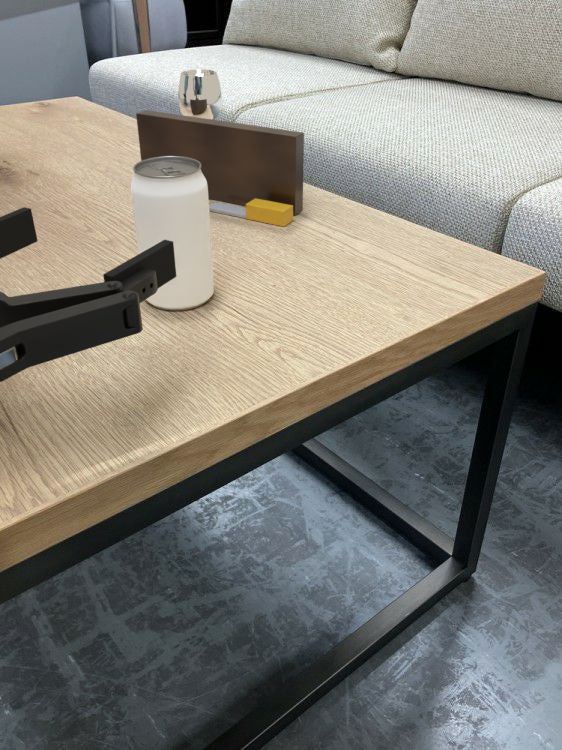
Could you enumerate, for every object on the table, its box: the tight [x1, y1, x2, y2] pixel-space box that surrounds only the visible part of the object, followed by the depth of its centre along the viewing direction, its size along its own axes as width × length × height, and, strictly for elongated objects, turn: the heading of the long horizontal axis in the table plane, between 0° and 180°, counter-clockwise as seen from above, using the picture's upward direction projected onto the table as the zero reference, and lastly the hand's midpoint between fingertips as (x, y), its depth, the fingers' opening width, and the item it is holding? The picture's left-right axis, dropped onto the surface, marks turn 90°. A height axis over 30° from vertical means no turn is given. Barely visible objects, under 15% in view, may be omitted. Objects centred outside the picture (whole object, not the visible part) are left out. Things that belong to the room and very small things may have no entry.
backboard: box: [135, 109, 305, 216], centre depth 84 cm, size 22×2×9 cm, turn 61°
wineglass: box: [177, 68, 223, 120], centre depth 94 cm, size 6×6×12 cm
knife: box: [209, 198, 294, 227], centre depth 81 cm, size 10×2×2 cm, turn 61°
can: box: [130, 156, 215, 312], centre depth 61 cm, size 6×6×12 cm
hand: (97, 240), depth 53 cm, fingers open, 13 cm apart
